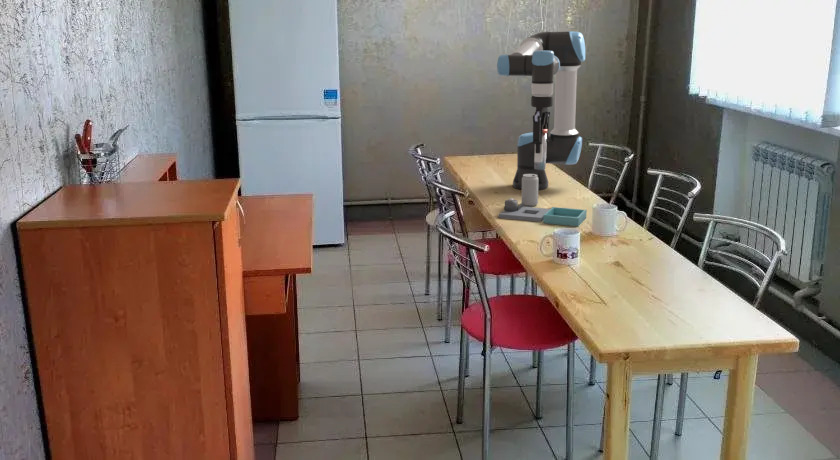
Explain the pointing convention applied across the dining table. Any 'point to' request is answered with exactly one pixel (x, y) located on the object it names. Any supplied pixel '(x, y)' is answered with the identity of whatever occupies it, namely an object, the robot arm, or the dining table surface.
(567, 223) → the tray
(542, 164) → the bottle with red cap
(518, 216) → the board
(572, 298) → the dining table surface
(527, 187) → the beverage can
